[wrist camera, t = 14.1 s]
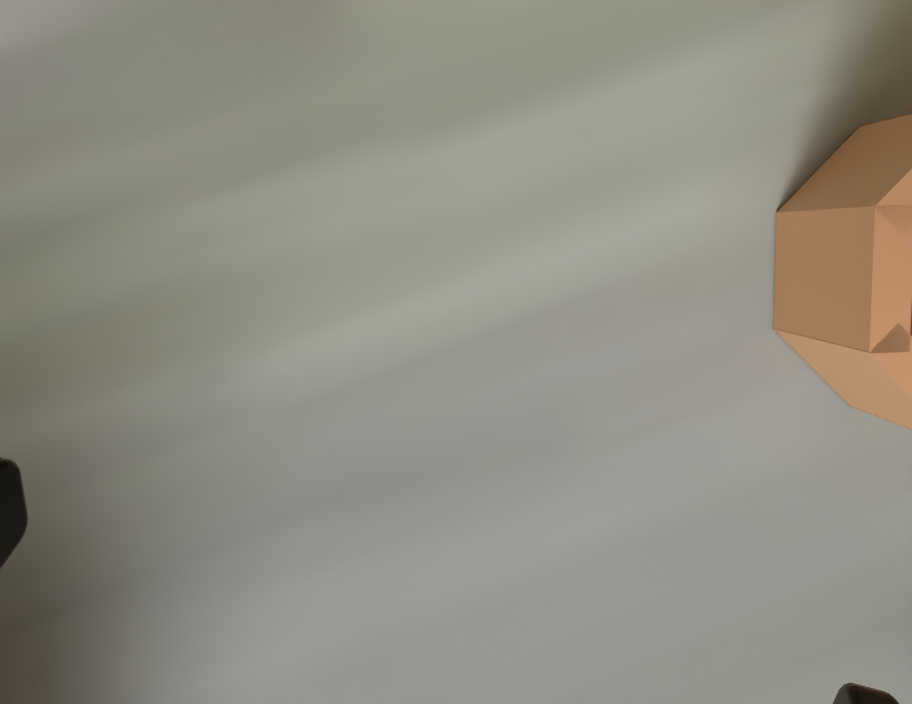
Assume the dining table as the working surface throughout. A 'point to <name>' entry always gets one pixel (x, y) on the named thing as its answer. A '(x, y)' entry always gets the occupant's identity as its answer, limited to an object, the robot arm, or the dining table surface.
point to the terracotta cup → (853, 270)
